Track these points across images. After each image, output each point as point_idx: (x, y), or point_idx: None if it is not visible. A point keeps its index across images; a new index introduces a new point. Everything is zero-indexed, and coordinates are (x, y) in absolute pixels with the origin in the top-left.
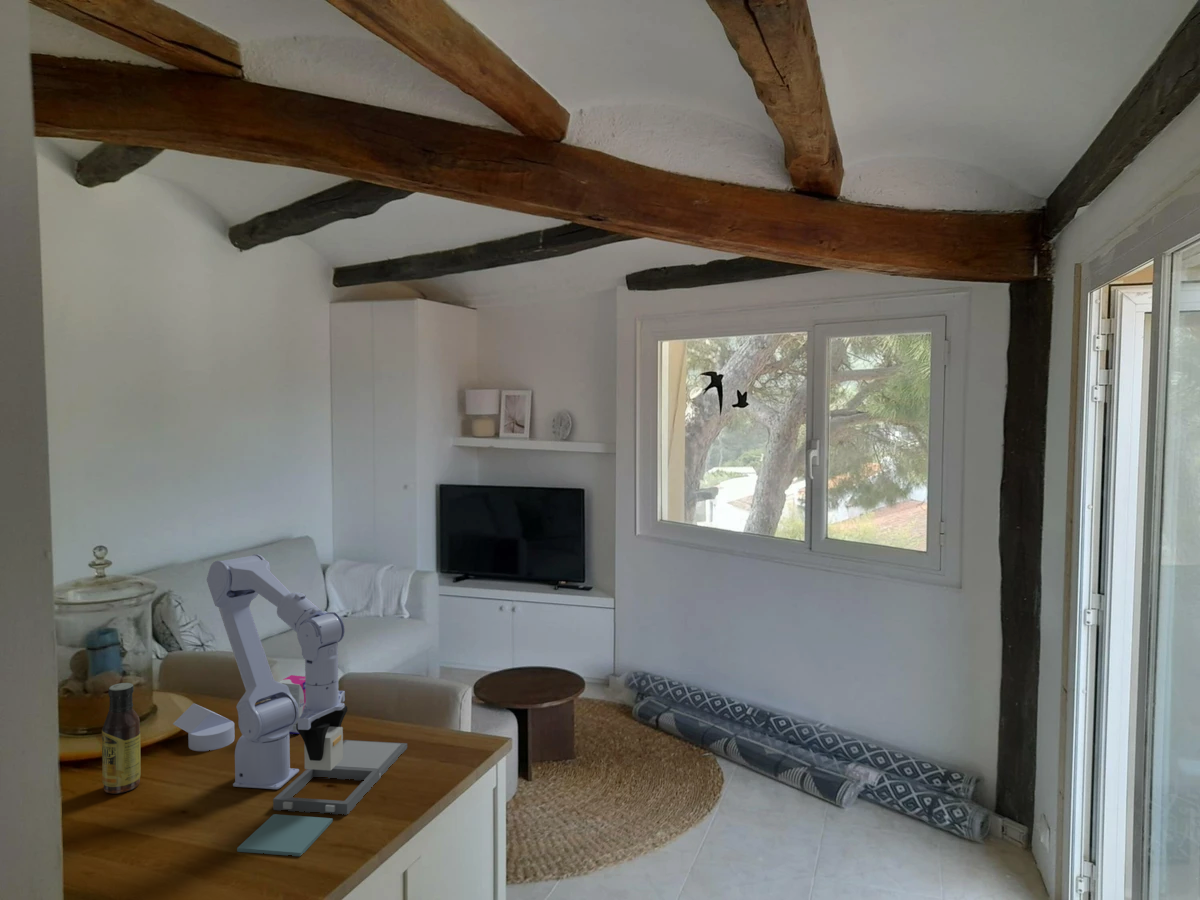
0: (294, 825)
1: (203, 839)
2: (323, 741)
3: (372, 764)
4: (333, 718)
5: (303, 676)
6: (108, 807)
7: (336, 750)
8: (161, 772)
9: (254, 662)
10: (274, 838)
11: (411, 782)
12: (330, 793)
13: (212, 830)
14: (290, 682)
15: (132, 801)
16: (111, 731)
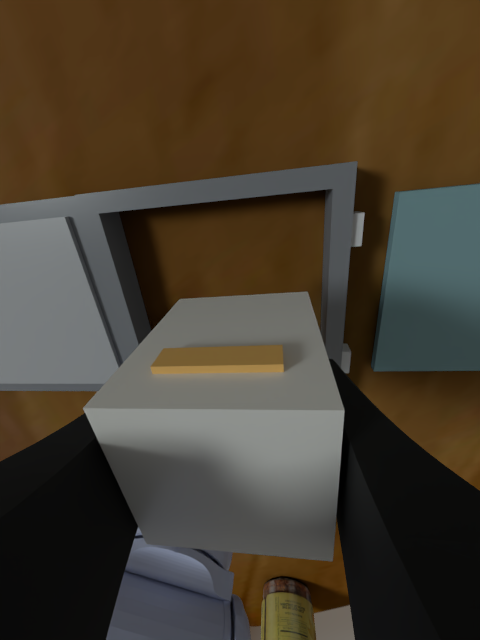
0: (443, 290)
1: (471, 447)
2: (368, 433)
3: (51, 251)
4: (59, 547)
5: None
6: (345, 581)
7: (236, 327)
8: (230, 569)
9: None
10: None
11: (60, 40)
12: (223, 295)
13: (430, 448)
14: None
15: (323, 567)
16: None
